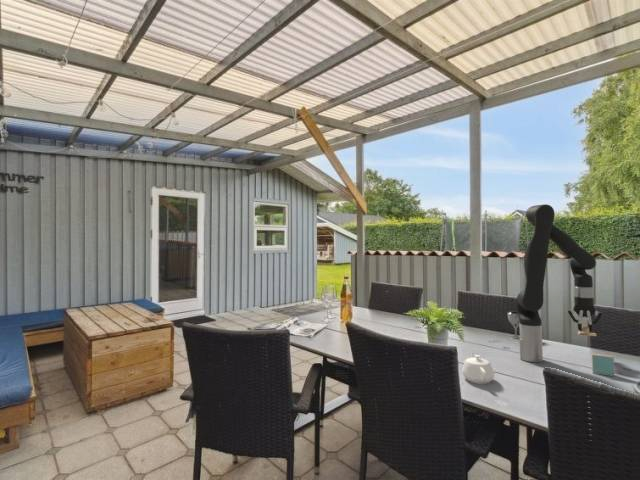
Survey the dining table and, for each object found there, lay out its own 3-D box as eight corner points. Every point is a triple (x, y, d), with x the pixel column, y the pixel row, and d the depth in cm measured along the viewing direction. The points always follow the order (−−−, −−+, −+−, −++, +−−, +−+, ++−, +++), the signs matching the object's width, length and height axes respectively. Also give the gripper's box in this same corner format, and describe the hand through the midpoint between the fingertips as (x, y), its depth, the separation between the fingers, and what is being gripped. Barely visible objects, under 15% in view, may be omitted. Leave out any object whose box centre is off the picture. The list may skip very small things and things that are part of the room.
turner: (579, 334, 155) (579, 326, 155) (575, 331, 168) (575, 324, 169) (596, 336, 151) (595, 328, 152) (590, 333, 165) (590, 325, 166)
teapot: (456, 369, 152) (456, 347, 152) (485, 370, 150) (485, 348, 150) (468, 388, 132) (467, 363, 132) (502, 390, 130) (501, 364, 130)
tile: (593, 373, 144) (592, 354, 144) (592, 371, 146) (591, 353, 146) (614, 376, 140) (613, 357, 140) (613, 374, 142) (612, 355, 142)
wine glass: (525, 337, 198) (524, 311, 199) (522, 340, 193) (521, 314, 193) (510, 334, 204) (509, 310, 204) (506, 337, 198) (506, 312, 198)
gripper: (566, 296, 162) (567, 331, 162) (603, 298, 155) (605, 335, 154) (565, 294, 168) (566, 328, 168) (600, 295, 161) (602, 331, 161)
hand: (584, 331), depth 161 cm, fingers closed on turner, 2 cm apart
